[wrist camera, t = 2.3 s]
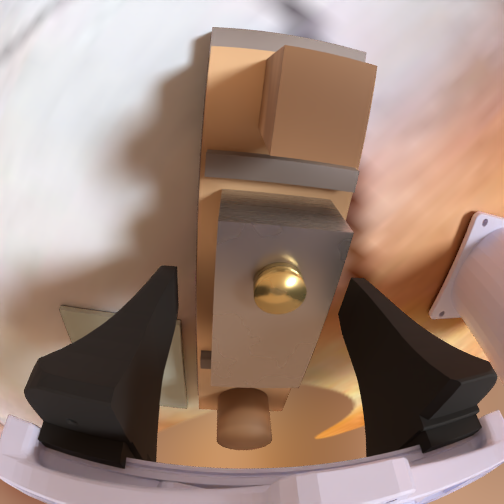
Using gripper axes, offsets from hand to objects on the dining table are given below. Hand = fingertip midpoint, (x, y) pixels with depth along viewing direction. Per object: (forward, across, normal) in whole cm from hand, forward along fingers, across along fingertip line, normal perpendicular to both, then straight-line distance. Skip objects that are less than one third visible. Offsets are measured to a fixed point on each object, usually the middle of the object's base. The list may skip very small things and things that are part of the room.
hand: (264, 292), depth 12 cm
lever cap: (+1, 0, 0) cm, 1 cm away
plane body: (+3, 0, +1) cm, 3 cm away
